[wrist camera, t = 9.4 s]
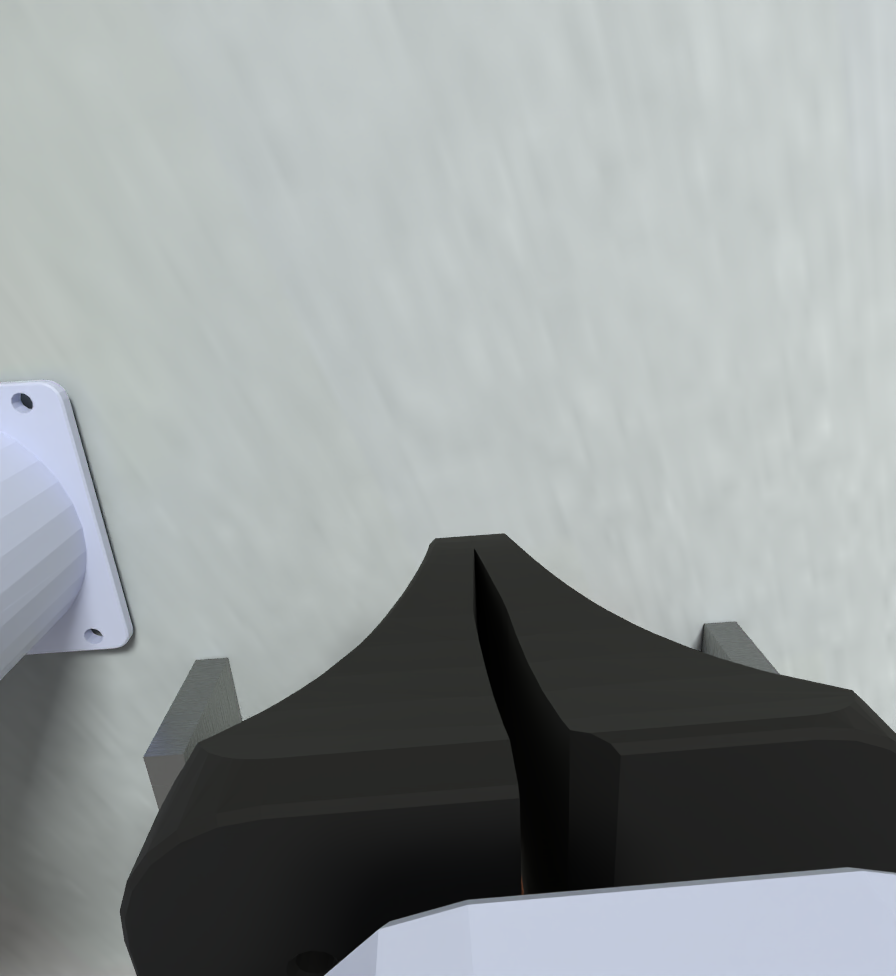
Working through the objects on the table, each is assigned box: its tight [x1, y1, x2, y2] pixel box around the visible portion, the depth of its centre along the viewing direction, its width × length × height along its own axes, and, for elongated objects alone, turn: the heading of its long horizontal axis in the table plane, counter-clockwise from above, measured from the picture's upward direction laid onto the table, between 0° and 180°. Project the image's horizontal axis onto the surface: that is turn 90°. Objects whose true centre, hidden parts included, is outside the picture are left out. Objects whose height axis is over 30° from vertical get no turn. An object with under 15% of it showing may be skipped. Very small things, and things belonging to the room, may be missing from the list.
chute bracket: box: [143, 622, 780, 810], centre depth 21 cm, size 17×14×4 cm
